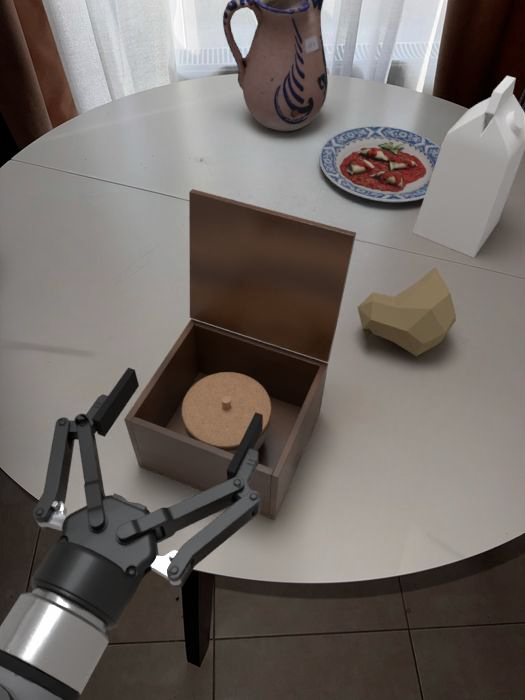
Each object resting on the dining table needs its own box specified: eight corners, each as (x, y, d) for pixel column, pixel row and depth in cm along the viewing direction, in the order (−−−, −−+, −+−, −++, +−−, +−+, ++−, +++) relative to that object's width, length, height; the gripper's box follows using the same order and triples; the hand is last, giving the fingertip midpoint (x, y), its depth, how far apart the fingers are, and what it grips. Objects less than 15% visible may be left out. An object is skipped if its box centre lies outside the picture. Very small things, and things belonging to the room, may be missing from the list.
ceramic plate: (411, 228, 104) (415, 215, 102) (293, 177, 113) (294, 164, 111) (470, 163, 117) (474, 150, 115) (359, 122, 127) (361, 109, 124)
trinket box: (178, 473, 72) (170, 433, 64) (195, 402, 78) (190, 358, 71) (264, 483, 71) (266, 444, 64) (274, 410, 78) (276, 368, 71)
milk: (439, 199, 109) (481, 58, 89) (498, 221, 105) (556, 79, 85) (412, 232, 103) (451, 89, 83) (474, 258, 99) (530, 113, 79)
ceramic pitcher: (334, 136, 123) (350, 8, 104) (238, 150, 119) (235, 19, 100) (309, 97, 134) (318, -27, 114) (219, 108, 130) (214, -18, 111)
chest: (275, 520, 69) (278, 478, 61) (138, 465, 73) (123, 419, 65) (320, 412, 79) (328, 363, 70) (197, 369, 83) (191, 318, 75)
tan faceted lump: (458, 324, 90) (414, 264, 90) (491, 310, 79) (440, 243, 80) (382, 379, 88) (338, 318, 89) (405, 374, 77) (354, 304, 78)
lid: (354, 235, 58) (356, 232, 59) (189, 191, 63) (192, 188, 63) (327, 362, 70) (329, 358, 70) (189, 318, 74) (192, 314, 75)
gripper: (-43, 565, 50) (93, 381, 62) (221, 691, 44) (312, 461, 57) (-82, 530, 44) (76, 335, 57) (216, 671, 38) (319, 419, 51)
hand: (194, 398), depth 57 cm, fingers open, 13 cm apart
